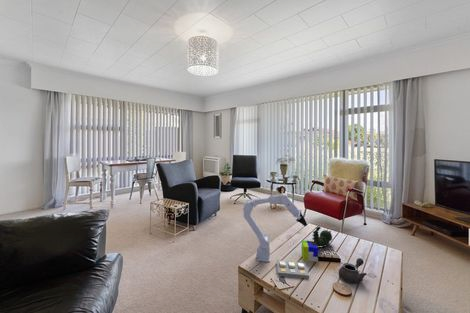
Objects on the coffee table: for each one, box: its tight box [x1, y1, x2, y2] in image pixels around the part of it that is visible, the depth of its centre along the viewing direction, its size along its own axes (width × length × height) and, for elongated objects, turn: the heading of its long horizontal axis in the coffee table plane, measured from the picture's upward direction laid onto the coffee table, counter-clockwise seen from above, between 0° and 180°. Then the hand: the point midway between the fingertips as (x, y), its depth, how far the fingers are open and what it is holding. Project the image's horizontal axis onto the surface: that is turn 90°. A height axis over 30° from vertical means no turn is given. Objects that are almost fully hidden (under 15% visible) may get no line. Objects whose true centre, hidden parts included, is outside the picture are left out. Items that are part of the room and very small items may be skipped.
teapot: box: [338, 257, 367, 284], centre depth 130 cm, size 19×15×10 cm
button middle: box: [289, 261, 295, 268], centre depth 138 cm, size 4×4×2 cm
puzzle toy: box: [301, 239, 319, 262], centre depth 153 cm, size 10×10×10 cm
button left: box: [280, 260, 286, 267], centre depth 139 cm, size 4×4×2 cm
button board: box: [276, 259, 310, 279], centre depth 137 cm, size 19×14×2 cm
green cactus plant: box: [312, 225, 333, 247], centre depth 171 cm, size 9×19×25 cm
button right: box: [298, 262, 304, 269], centre depth 137 cm, size 4×4×2 cm
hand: (305, 223), depth 144 cm, fingers open, 7 cm apart
